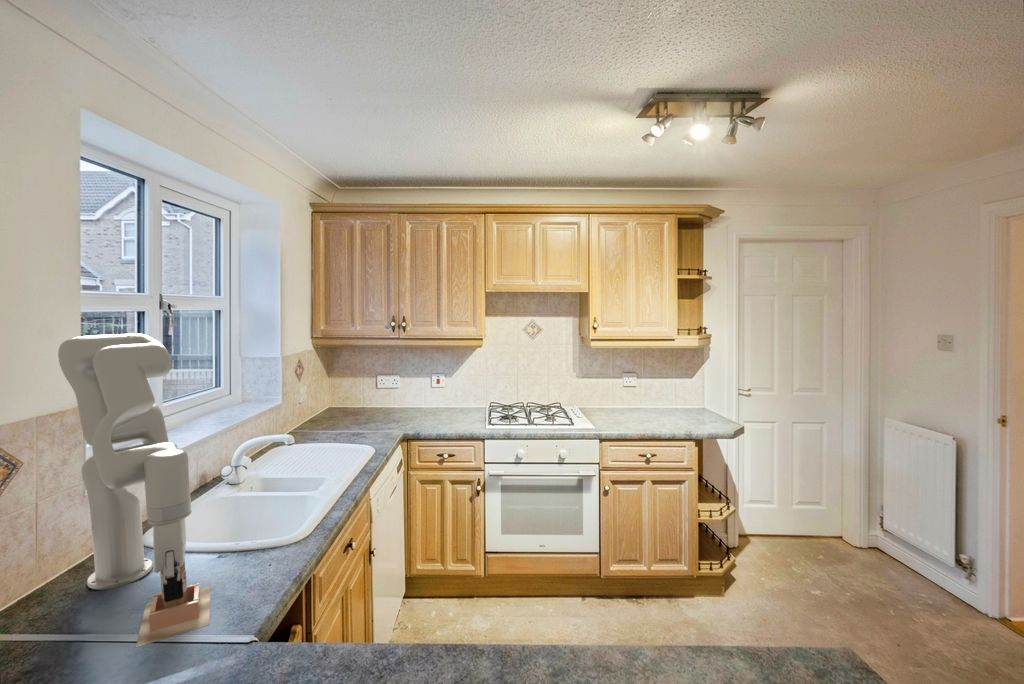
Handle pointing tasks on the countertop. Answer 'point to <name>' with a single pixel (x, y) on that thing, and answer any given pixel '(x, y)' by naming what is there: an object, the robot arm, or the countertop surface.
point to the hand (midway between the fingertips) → (174, 592)
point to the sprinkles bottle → (184, 598)
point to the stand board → (180, 628)
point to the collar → (174, 610)
